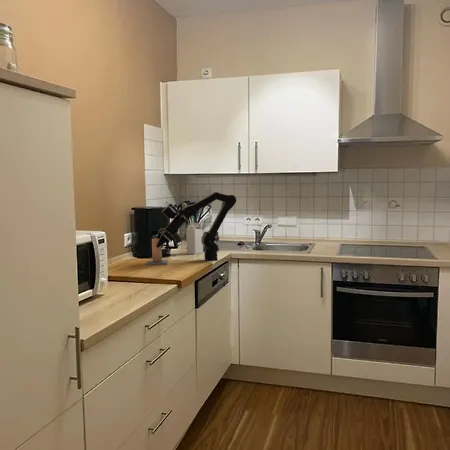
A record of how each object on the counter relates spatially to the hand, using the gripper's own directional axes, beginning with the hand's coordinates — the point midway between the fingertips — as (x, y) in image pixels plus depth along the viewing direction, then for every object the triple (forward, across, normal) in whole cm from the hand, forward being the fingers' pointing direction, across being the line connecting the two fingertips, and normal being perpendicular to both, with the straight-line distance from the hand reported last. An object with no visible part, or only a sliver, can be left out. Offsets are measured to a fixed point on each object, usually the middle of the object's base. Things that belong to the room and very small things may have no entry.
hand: (155, 246), depth 253 cm
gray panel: (+6, 0, -7) cm, 9 cm away
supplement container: (-21, +37, -35) cm, 55 cm away
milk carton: (-13, +29, -26) cm, 41 cm away
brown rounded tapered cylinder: (+6, 0, -6) cm, 9 cm away
